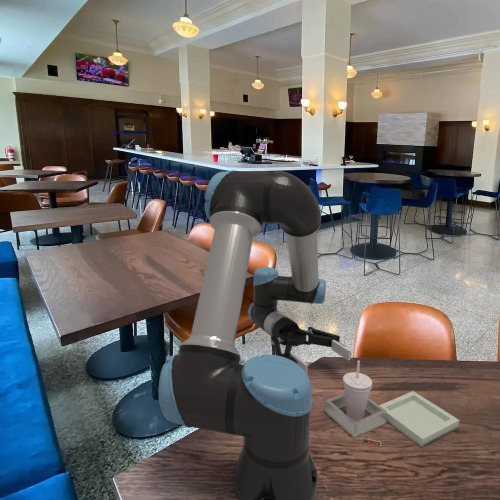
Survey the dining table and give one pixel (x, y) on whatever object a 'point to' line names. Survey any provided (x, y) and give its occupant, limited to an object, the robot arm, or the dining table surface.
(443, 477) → the dining table surface
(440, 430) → the tray
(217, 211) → the robot arm
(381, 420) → the square frame
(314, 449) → the dining table surface
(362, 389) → the smoothie
